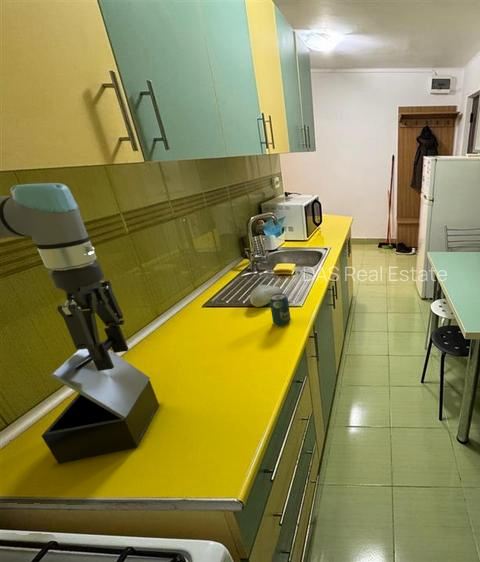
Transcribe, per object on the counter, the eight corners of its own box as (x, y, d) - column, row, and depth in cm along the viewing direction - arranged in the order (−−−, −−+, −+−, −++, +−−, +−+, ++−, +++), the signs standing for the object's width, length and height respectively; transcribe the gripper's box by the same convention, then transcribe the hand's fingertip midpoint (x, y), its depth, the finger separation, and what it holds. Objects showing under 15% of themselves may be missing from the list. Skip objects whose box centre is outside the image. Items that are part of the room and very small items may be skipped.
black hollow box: (58, 463, 68) (40, 435, 65) (93, 417, 80) (80, 391, 77) (137, 447, 72) (124, 420, 68) (159, 405, 84) (149, 380, 80)
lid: (49, 376, 61) (77, 356, 61) (89, 339, 73) (113, 323, 73) (122, 419, 68) (147, 402, 68) (148, 379, 80) (169, 365, 80)
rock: (242, 309, 134) (261, 292, 152) (267, 311, 133) (283, 294, 152) (240, 293, 131) (260, 278, 150) (266, 296, 130) (282, 280, 149)
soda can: (286, 328, 120) (282, 301, 116) (270, 326, 122) (265, 299, 117) (293, 319, 127) (290, 293, 122) (278, 317, 128) (274, 292, 123)
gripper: (64, 280, 53) (111, 384, 62) (119, 249, 70) (149, 335, 79) (11, 285, 51) (67, 391, 60) (80, 252, 68) (116, 339, 77)
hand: (114, 359), depth 69 cm, fingers closed on lid, 6 cm apart
